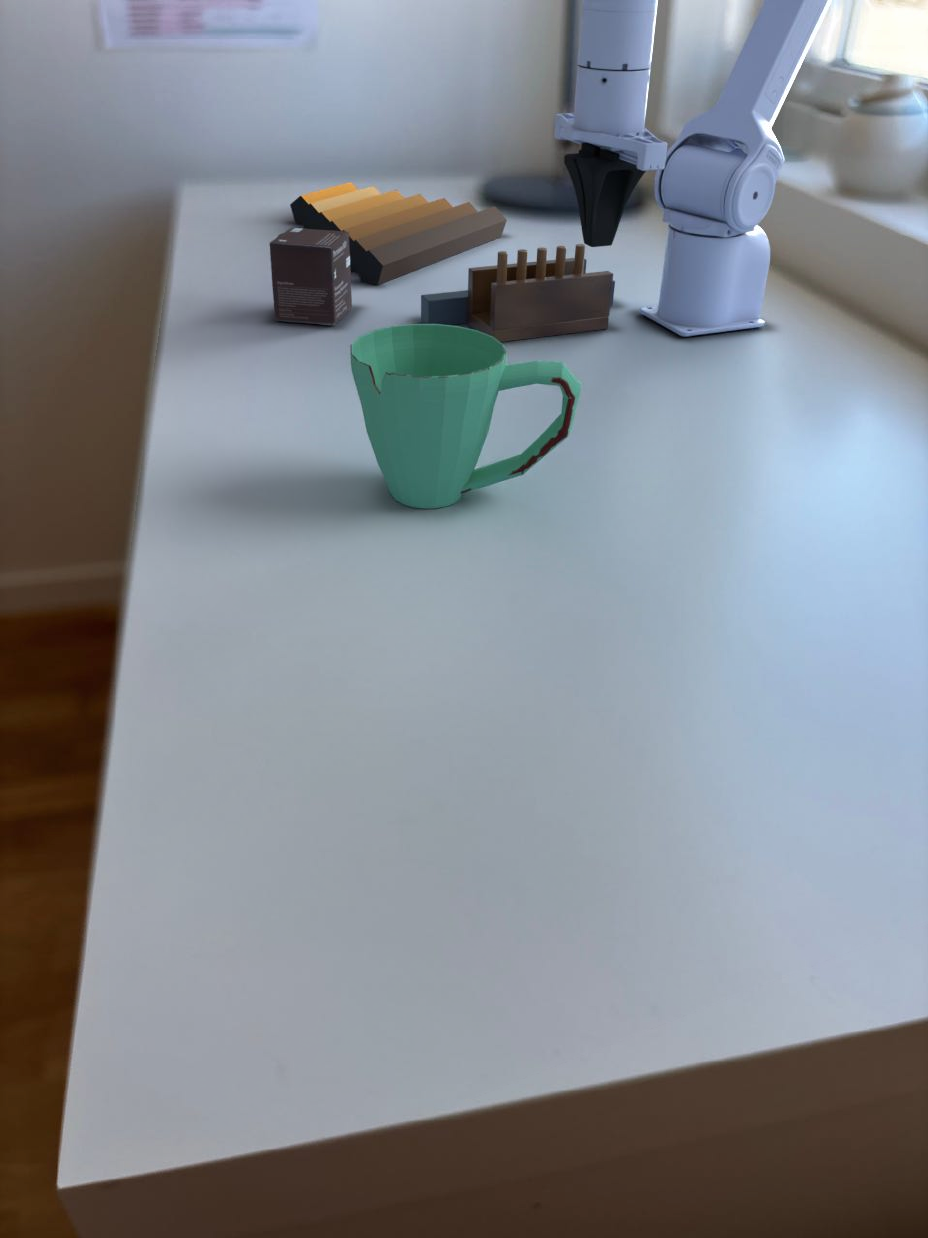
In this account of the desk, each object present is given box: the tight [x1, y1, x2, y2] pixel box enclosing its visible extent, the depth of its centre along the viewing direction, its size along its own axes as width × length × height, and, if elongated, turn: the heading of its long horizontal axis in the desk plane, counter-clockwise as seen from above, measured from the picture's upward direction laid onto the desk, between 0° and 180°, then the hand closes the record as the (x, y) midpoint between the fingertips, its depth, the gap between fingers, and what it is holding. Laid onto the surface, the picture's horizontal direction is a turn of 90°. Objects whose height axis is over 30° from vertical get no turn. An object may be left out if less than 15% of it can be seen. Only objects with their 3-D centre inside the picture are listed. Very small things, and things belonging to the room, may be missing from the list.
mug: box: [349, 323, 583, 510], centre depth 71 cm, size 15×10×10 cm
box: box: [269, 227, 353, 326], centre depth 103 cm, size 6×6×7 cm
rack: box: [467, 243, 614, 343], centre depth 102 cm, size 12×6×7 cm, turn 114°
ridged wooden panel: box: [289, 181, 508, 286], centre depth 127 cm, size 25×3×25 cm
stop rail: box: [420, 279, 616, 325], centre depth 106 cm, size 20×2×2 cm, turn 114°
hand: (597, 244), depth 93 cm, fingers closed
